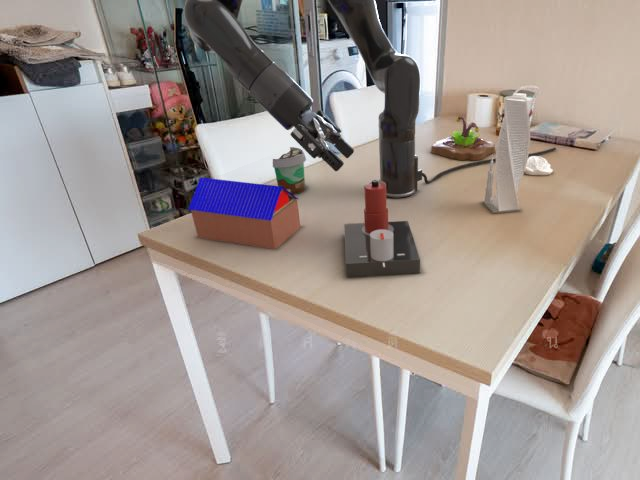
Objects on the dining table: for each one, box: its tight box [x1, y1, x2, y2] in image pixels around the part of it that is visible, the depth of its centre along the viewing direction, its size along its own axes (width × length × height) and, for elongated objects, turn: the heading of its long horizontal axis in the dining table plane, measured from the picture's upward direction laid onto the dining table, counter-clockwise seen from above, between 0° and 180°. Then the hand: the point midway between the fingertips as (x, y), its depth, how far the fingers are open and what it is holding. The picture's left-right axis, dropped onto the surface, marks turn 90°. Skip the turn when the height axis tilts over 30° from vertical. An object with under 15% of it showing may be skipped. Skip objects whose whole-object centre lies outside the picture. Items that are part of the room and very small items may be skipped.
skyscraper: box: [482, 84, 540, 215], centre depth 107 cm, size 8×8×28 cm
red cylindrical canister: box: [363, 179, 389, 233], centre depth 94 cm, size 5×5×10 cm
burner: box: [362, 224, 394, 236], centre depth 97 cm, size 7×7×1 cm
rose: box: [524, 155, 554, 176], centre depth 138 cm, size 10×4×10 cm
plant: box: [430, 116, 496, 162], centre depth 154 cm, size 20×20×11 cm
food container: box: [272, 146, 307, 196], centre depth 123 cm, size 12×6×10 cm, turn 168°
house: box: [187, 177, 302, 250], centre depth 100 cm, size 12×20×12 cm, turn 73°
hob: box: [343, 220, 421, 279], centre depth 93 cm, size 20×14×3 cm
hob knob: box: [370, 229, 394, 261], centre depth 86 cm, size 4×4×5 cm
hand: (346, 161), depth 90 cm, fingers open, 8 cm apart
